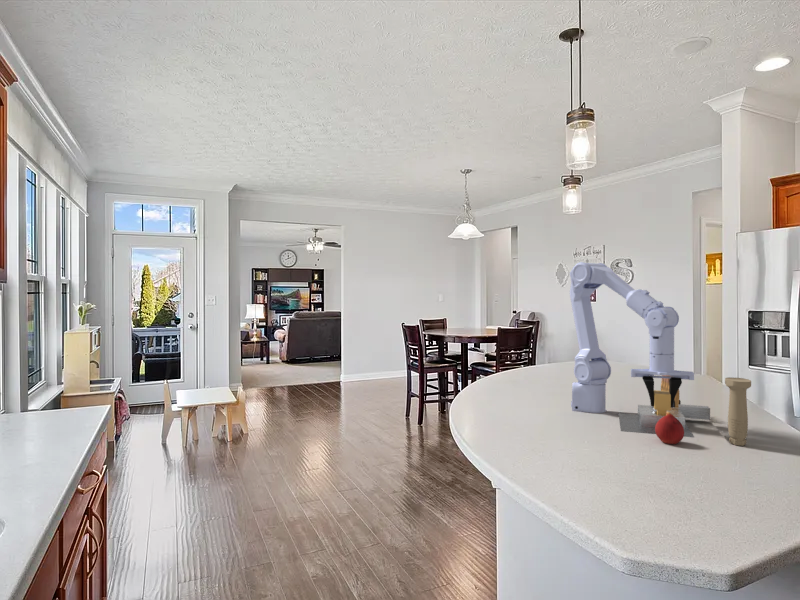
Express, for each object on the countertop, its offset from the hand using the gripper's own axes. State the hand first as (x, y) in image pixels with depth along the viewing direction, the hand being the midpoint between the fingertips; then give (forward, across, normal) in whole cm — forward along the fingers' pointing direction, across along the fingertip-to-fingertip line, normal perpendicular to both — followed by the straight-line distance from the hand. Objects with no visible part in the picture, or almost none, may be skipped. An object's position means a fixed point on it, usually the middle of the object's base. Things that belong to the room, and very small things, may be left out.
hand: (661, 406), depth 136 cm
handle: (+6, +15, -10) cm, 19 cm away
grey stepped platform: (+6, 0, 0) cm, 6 cm away
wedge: (+2, 0, 0) cm, 2 cm away
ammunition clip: (+6, +4, +20) cm, 21 cm away
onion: (+6, 0, -18) cm, 18 cm away
